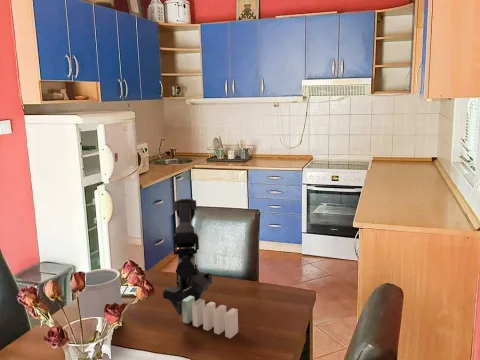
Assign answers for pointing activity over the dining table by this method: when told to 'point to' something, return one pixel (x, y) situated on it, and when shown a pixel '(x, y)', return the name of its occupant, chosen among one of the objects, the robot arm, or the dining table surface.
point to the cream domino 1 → (198, 312)
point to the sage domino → (187, 309)
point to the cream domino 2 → (208, 316)
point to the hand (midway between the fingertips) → (188, 309)
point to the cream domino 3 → (219, 319)
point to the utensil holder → (99, 292)
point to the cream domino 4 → (231, 323)
